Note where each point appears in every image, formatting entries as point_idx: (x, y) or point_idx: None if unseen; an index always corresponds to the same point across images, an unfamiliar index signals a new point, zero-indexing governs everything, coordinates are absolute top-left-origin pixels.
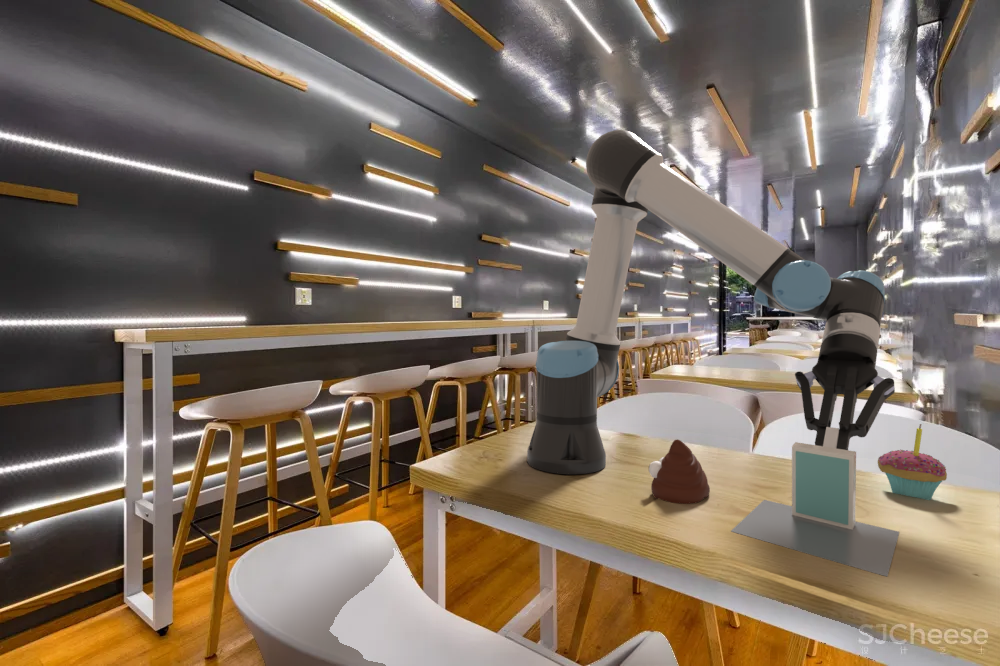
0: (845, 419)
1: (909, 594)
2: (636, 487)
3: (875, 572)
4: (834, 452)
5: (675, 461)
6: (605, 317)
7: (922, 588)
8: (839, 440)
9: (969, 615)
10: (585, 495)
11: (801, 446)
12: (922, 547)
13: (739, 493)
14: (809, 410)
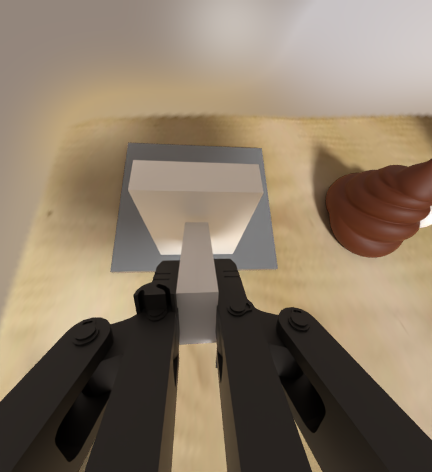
0: (147, 345)
1: (114, 137)
2: None
3: (137, 143)
4: (172, 165)
5: (396, 165)
6: None
7: (103, 153)
8: (175, 280)
9: (76, 131)
10: (410, 152)
11: (241, 170)
12: (90, 254)
13: (317, 288)
14: (328, 363)
